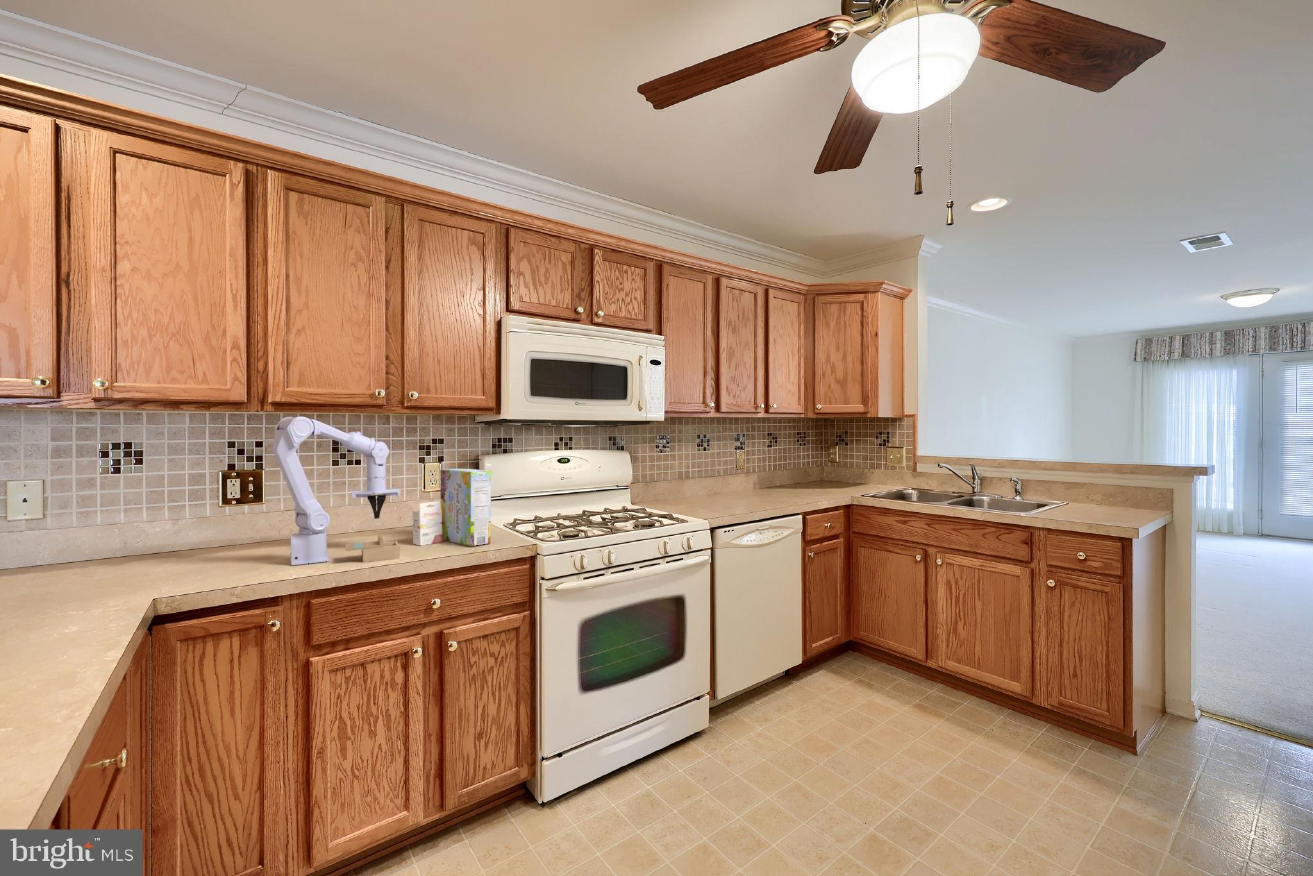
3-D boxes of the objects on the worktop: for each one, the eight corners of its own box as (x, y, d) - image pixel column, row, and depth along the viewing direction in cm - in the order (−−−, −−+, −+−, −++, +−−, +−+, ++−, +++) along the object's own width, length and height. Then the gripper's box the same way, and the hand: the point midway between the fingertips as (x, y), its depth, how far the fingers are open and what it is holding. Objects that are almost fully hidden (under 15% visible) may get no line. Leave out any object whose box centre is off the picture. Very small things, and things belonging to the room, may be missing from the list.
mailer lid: (345, 550, 166) (345, 541, 166) (345, 545, 173) (344, 537, 173) (383, 547, 171) (382, 538, 171) (381, 542, 178) (380, 534, 178)
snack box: (493, 544, 195) (492, 470, 194) (470, 548, 188) (469, 471, 188) (461, 536, 209) (460, 467, 209) (438, 539, 203) (438, 468, 202)
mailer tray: (363, 562, 168) (362, 549, 168) (361, 557, 175) (361, 544, 175) (399, 558, 173) (399, 545, 173) (396, 553, 180) (396, 541, 180)
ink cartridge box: (435, 540, 201) (434, 499, 201) (442, 542, 198) (442, 500, 198) (412, 544, 194) (411, 502, 194) (420, 546, 191) (419, 503, 191)
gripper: (351, 479, 179) (352, 521, 179) (401, 477, 186) (402, 518, 186) (351, 477, 185) (351, 518, 185) (399, 475, 192) (399, 515, 193)
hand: (376, 518), depth 186 cm, fingers closed
